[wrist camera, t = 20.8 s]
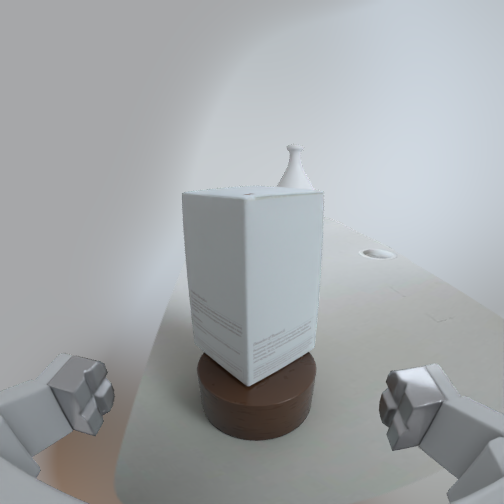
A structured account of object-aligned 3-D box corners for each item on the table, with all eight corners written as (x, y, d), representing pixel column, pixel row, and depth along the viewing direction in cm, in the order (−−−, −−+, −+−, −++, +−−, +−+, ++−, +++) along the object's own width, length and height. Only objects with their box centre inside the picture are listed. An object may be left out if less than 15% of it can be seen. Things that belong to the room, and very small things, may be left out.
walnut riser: (331, 417, 20) (339, 381, 19) (221, 454, 17) (216, 420, 16) (281, 358, 28) (283, 325, 27) (192, 379, 25) (186, 344, 24)
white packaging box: (317, 348, 23) (329, 189, 19) (246, 390, 18) (242, 196, 15) (258, 317, 28) (258, 183, 25) (191, 343, 24) (178, 189, 20)
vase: (270, 217, 104) (270, 146, 97) (320, 219, 101) (321, 147, 94) (264, 227, 88) (263, 142, 81) (323, 229, 85) (324, 143, 78)
